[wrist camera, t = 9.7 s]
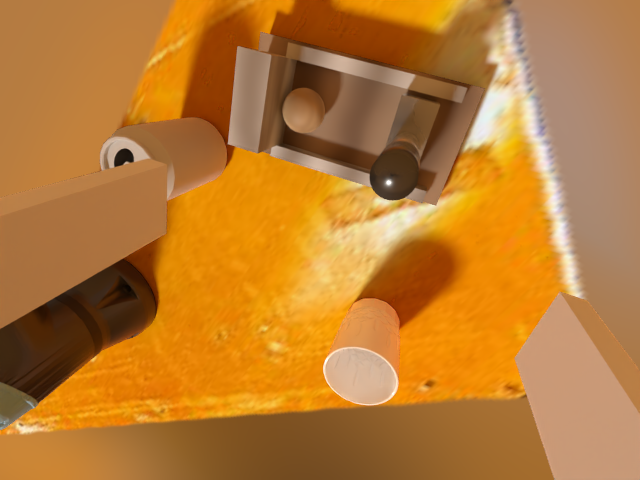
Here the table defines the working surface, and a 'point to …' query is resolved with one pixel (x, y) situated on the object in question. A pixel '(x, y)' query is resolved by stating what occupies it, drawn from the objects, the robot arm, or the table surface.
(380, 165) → the ram
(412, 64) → the table surface
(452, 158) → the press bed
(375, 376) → the white cup
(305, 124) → the tan ball
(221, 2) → the table surface
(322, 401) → the table surface
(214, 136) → the can
